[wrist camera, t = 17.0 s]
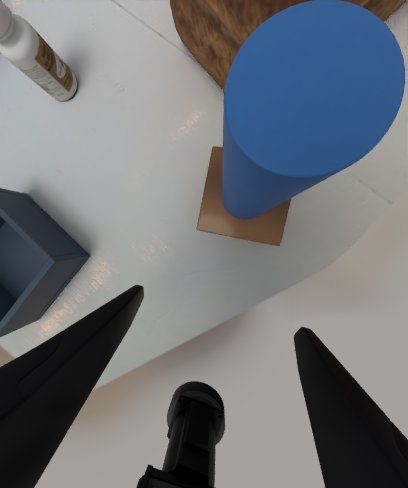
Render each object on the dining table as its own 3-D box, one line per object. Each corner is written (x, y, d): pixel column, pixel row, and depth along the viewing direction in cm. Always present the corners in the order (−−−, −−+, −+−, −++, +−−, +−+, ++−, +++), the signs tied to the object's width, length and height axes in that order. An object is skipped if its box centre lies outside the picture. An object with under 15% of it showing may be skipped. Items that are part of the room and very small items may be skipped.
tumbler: (228, 224, 18) (246, 198, 5) (216, 179, 18) (205, 41, 5) (276, 211, 18) (426, 145, 5) (263, 164, 18) (383, -36, 5)
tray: (90, 255, 22) (54, 261, 17) (38, 319, 24) (-7, 340, 19) (26, 193, 23) (-25, 182, 18) (-20, 259, 24) (-79, 265, 20)
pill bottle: (82, 94, 21) (3, 13, 13) (56, 107, 22) (-35, 36, 14) (72, 63, 21) (-14, -36, 13) (46, 77, 22) (-51, -10, 14)
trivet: (275, 245, 19) (279, 246, 18) (198, 230, 20) (196, 229, 19) (294, 164, 19) (300, 158, 17) (213, 152, 20) (212, 146, 18)
